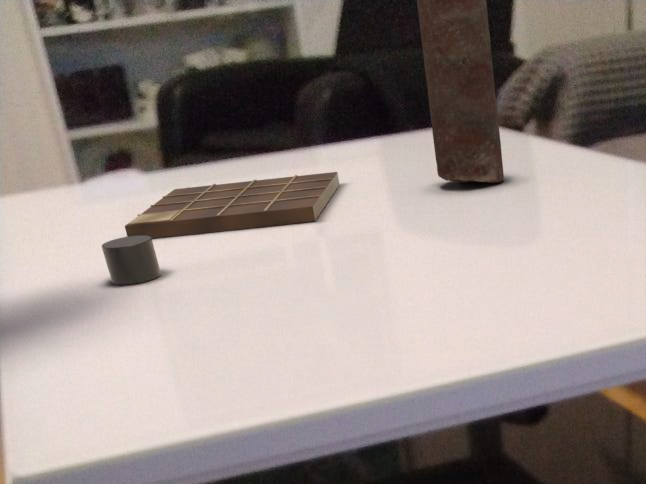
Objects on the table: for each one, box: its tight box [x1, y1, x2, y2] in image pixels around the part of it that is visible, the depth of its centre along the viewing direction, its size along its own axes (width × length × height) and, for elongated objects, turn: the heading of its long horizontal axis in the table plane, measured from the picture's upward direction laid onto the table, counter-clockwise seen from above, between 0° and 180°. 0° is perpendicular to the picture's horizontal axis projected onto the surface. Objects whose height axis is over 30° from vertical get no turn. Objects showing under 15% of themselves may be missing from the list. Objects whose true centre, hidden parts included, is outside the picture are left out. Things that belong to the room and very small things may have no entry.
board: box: [124, 171, 340, 239], centre depth 114 cm, size 20×20×2 cm
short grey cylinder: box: [101, 235, 162, 286], centre depth 92 cm, size 4×4×3 cm
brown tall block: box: [416, 0, 505, 185], centre depth 109 cm, size 8×7×20 cm
